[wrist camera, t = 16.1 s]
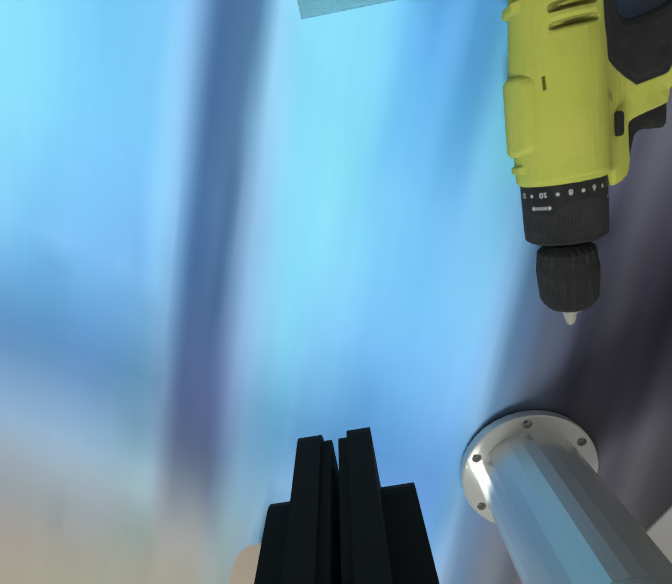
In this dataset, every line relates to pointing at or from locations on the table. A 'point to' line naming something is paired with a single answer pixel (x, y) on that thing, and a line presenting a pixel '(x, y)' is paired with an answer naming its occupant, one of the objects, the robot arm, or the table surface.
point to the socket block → (331, 6)
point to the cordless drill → (578, 126)
